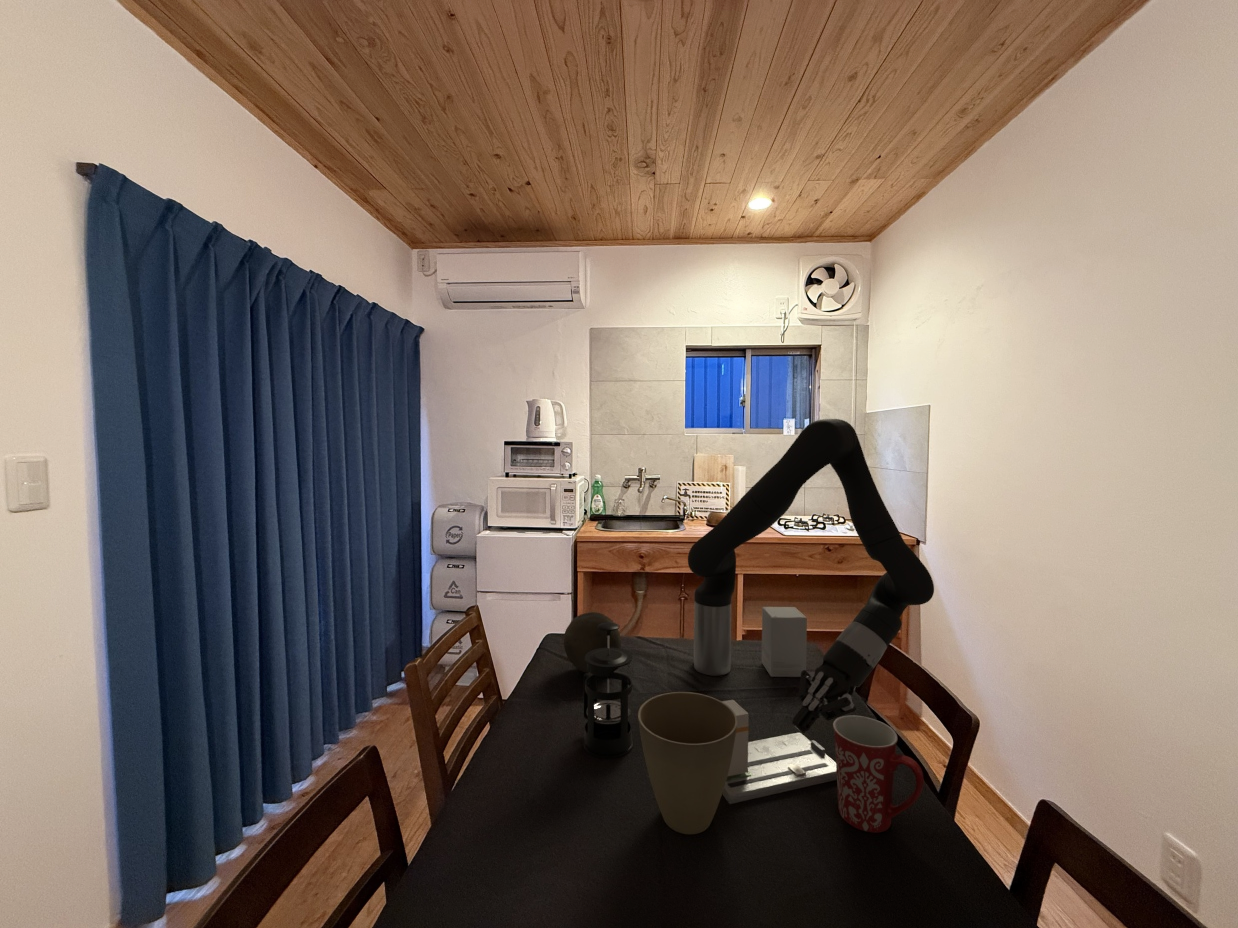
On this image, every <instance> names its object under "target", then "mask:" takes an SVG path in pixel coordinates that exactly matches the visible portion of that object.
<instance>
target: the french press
mask: <svg viewBox="0 0 1238 928" xmlns="http://www.w3.org/2000/svg"><path fill="white" fill-rule="evenodd" d="M598 629H600V630H603V631H606V635H607V636H608V648H599V649H595V650H592V651H590V652H588V653H587V654H586V655H585V661H586V662H587V670H588V671H589V673H584V674H583V718H584V719H585V720H587V721H586V723H585V724H584V740H583V748H584V751H586V752H587V754H589V755H591V756H592V757H595V758H599V759H606V760H608V759H617V758H620V757H623V756H625V755H627V754H629V752H631V750H632V748H633V746H634V745H633V744H634V740H633V736H632V735H633V727H632V724H631V722H630V720H629V717H630V715H631V708H630V707H629V695H630V694H631V693H632V691H633V681H632V679H631V677H629V676H628V675H626V674H623V673H621V672H617V670H618V669H619V668H621V667H622V668H623V667H625V666H627V667H628V668H630V667H631V666H630V664H631V662H632V660H633V656H632V653H630V652H629V651H628V650H626V649H622V648H621V649H618V648H609V639H610V635H611V631H614V630H617V629H618V630H619V629H620V625H619V624H618V623H616V622H614V623H610V622H607V623H601V624H599V625H598ZM606 679H607V681H606V682H607V691H606V692H602V691H601V692H600V691H598V681H599V680H606ZM610 680H617V681H620V685H621V687H620V691H616V692H615V691H614V692H610ZM598 700H599V701H598ZM618 700H620V701H618ZM605 733H610V734H611V733H612V734H615V735H616V734H617V735H619V738H618V737H617V738H613V739H602V738H597V737H596V736H598V735H600V734H605Z"/></svg>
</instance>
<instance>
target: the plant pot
mask: <svg viewBox="0 0 1238 928" xmlns="http://www.w3.org/2000/svg"><path fill="white" fill-rule="evenodd" d="M722 701H723V700H722ZM722 701H721V700H720V699H717V698H715V697H712V696H710V695H706V694H703V693H698V692H691V691H673V692H668V693H667V692H666V693H662V694H658V695H655V696H653V697H651V698H649V699H647V700H646V701H645V702H643V703H642V704H641V706H640V707H639V709H638V712H637V717H638V718H637V719H638V727H639V732H640V733H639V734H640V739H641V745H642V746H641V747H642V751H643V756H644V761H645V764H646V768H647V769H646V770H647V774H648V777H649V780H650V784H651V787H652V790H653V794H654V797H655V800H656V803H657V805H658V807H659V811H660V812H661V816H662V819H663V821H664V823H666V825H667V826H668V827H669V828H670V829H671V830H673V831H675V832H677V833H679V834H683V835H697V834H700V833H702V832H705V831H706V830H707V829H709V827H710V825H711V824H712V821H713V819H714V817H715V814H716V812H717V810H718V807H719V805H720V801H721V798H722V796H723V795H722V793H723V789H724V786H725V783H726V779H727V776H728V772H729V768H730V764H731V759H732V754H733V748H734V741H735V735H736V729H737V717H736V714H735V713H734V711H733V710H732V709H731V708H730V707H729V706H728V705H726V704H725V703H723V702H722Z"/></svg>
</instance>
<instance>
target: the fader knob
mask: <svg viewBox="0 0 1238 928" xmlns="http://www.w3.org/2000/svg"><path fill="white" fill-rule="evenodd" d="M722 702H723V703H725V704H726V705H728V706H729V707H730V708H731V709H732V710H733V711H734V713H735V714H736V717H737V729H736V735H735V741H734V748H733V754H732V759H731V764H730V768H729V772H728V776H732V775H737V774H742V773H747V772H748V742H749V731H750V729H749V726H750V725H749V713H748V711H746V710H745V709H744V708H743V707H742V706H741V705H740V704H738V702H736V701H735V700H734V699H729V700H722Z"/></svg>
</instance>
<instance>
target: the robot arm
mask: <svg viewBox="0 0 1238 928" xmlns="http://www.w3.org/2000/svg"><path fill="white" fill-rule="evenodd" d="M828 465H830V466H831V468H832V469H833V470H834V472H835V473H836V475H837V476H838V479H839V480H840V483H841V485H842V488H843V490H844V494H845V498H846V503H847V506H848V513H849V516H850V520H851V523H852V525H853V527H854V529H855V532H856V534H857V535H858V537H859V540H860V541H861V544H862V546H863V548H864V549H865V552H866V553H867V555H868V556H869V557H870V559H872V560H873V561H877V562H879V563H880V564H881V566H882V567H883V569H884V571H886V572H885V573H884V574H882V576H880V578H879V579H878V580H877V581H876V583H875V585H874V587H873V589H872V591H871V592H870V594H869V597H868V599H867V602H866V604H865V605H864V607H862V608H861V609H860V611H859V612H858V613H857V615H856V616H855V617H854V619H853V620H852V621H851V623H849V625H847V626H846V627H845V628H844V629H843V630H842V632H841V633H840V634H839V635H838V636H837V638H836V639H835V641H834V642H833V643H832V644H831V646H830V647H829V649H828V650H827V651H826V652H825V653H824V655H823V656H822V660H823V661H822V664H821V665H820V666H818V667H816V668H815V669H814V671H810V672H808V671H807V669H806V670H803V671H802V672H801V677H799V678H800V682H799V689H798V690H799V691H798V698H799V699H800V701H801V703H802V706H801V707H800V709H799V710H798V711H797V713H796V714H795V715H794V716H793V719H792V723H791V724H792V725H793V726H794V727H795V728H796V729H797V730H798V731H800V733H801V734H805V733H806V732H808V731H809V730H810V729H811V728H812V726H813V725H814V723H815V722H816V720H818V719H824V720H825V721H831V720H834V719H837V718H839V717H842V716H847V715H848V714H851V713H854V712H855V711H857V707H856V705H855V704H854V703H853V699H852V696H853V695H854V692H855V688H860V686H862V685H863V683H864V682H865V681H866V679H867V678H868V676H869V675H870V674H871V672H872V671H873V670H874V669H875V667H876V665H877V664H878V663H879V662H880V661H881V658H882V657H883V655H884V654H885V653H886V650H887V649H888V647H889V645H890V644H891V642H893V640H894V639H895V637H896V636H897V635H898V634H899V632H900V630H901V628H902V626H903V625H902V619H901V616H902V614H903V613H904V611H905V610H906V609H907V607H908V606H920V605H924V604H926V603H928V602H929V601H931V599H932V598H933V596H934V593H935V583H934V580H933V578H932V576H931V574H930V571H929V570H928V568H927V567H926V566H925V565H924V563H923V562H922V560H920V558H919V557H918V556H917V555H916V553H915V552H914V551H913V550H912V548H911V547H910V546H909V545H908V544H907V543H906V542H905V541H904V539H903V537H902V534H901V533H900V530H899V528H898V527H897V525H896V523H895V521H894V519H893V518H892V516H891V514H890V512H889V511H888V508H887V506H886V505H885V502H884V500H883V499H882V496H881V494H880V493H879V490H878V488H877V485H876V484H875V482H874V478H873V476H872V473H871V471H870V468H869V466H868V463H867V460H866V458H865V455H864V452H863V447H862V446H861V442H860V438H859V437H858V433H857V431H856V429H855V427H853V425H852V424H850V423H849V422H848V421H846V420H843V419H840V418H821V419H817V420H815V421H812V422H810V423H809V424H808V425H806V426H805V428H803V429H802V431H801V432H800V434H799V435H797V437H796V438H795V440H794V441H793V443H792V444H791V445H790V447H789V448H788V449H787V450H786V452H785V453H784V454H783V456H782V457H781V458H780V459H779V460H778V461H777V462H776V463H775V464H774V465H773V466H772V467H770V469H769V470H768V471H766V472H765V474H763V475H762V477H761V478H760V479H759V480H758V481H757V482H756V483H755V484H754V485H752V487H750V489H749V490H748V491H746V493H745V494H744V495H743V496H742V497H741V498H740V499H739V501H738V502H737V503H736V504H735V505H734V506H733V507H732V508H731V509H730V510H729V511H727V513H726V514H725V515H724V517H722V518H721V520H720V521H719V522H718V523H717V524H716V525H715V526H714V527H713V528H711V530H709V531H708V532H707V533H706V534H704V535H703V536H702V537H700V538H699V539H698V540H697V541H695V542H694V543H693V545H692V546H691V547H690V550H689V551H688V554H687V564H688V567H689V570H690V571H691V572H692V573H693V574H694V575H696V576H698V577H701V578H704V579H703V580H702V582H701V583H700V585H698V587H697V588H695V591H694V609H693V610H694V617H693V618H694V623H693V624H694V625H693V626H694V627H693V668H694V670H696V672H699V673H700V674H702V675H708V676H718V677H719V676H724V675H727V674H729V673H730V672H731V664H732V663H731V659H732V657H731V656H732V653H731V652H732V597H733V594H734V592H735V589H736V574H737V573H736V572H737V571H736V570H737V555H736V550H735V549H737V548H739V547H741V545H743V544H745V543H747V542H749V541H751V540H752V539H754V538H756V537H757V536H759V535H760V534H762V533H764V532H765V531H767V530H769V529H770V528H771V527H772V526H773V525H775V523H776V522H777V521H778V520H779V519H780V518H781V517H783V516H784V515H785V514H786V513H787V511H788V510H789V509H790V508H791V506H792V504H793V502H794V501H795V499H796V497H797V494H798V493H799V491H800V490H801V488H802V487H803V485H805V484H806V483H807V482H808V481H809V480H810V479H811V478H813V476H815V475H816V474H817V473H819V472H820V471H821V470H822V469H823V468H826V467H827V466H828Z"/></svg>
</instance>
